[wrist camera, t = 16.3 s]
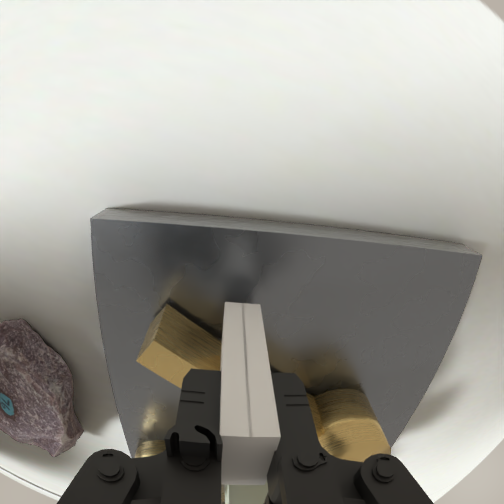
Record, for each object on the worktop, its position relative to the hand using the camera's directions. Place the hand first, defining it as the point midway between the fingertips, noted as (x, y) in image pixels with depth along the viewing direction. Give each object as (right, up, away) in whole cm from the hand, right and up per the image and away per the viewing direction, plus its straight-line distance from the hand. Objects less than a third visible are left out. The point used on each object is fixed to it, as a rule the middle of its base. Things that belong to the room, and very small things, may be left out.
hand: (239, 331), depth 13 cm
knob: (+2, -4, +3) cm, 5 cm away
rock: (-15, -7, +5) cm, 18 cm away
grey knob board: (+1, -11, +8) cm, 14 cm away
